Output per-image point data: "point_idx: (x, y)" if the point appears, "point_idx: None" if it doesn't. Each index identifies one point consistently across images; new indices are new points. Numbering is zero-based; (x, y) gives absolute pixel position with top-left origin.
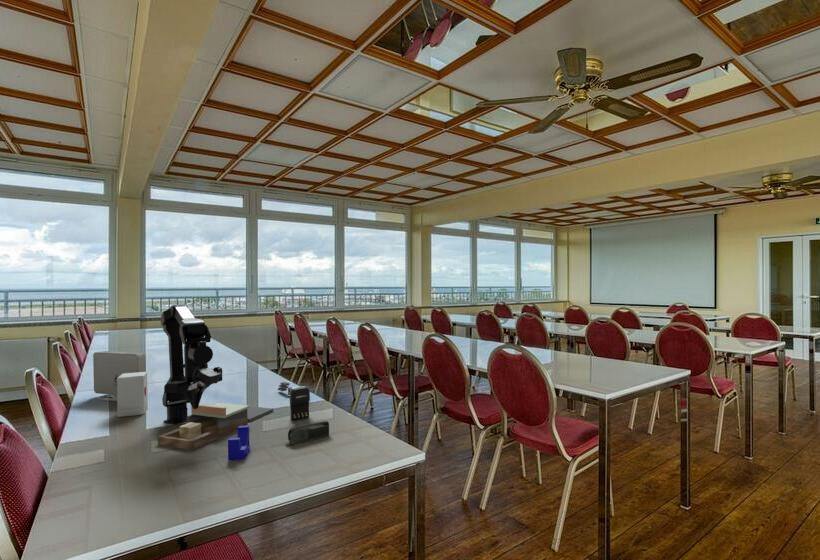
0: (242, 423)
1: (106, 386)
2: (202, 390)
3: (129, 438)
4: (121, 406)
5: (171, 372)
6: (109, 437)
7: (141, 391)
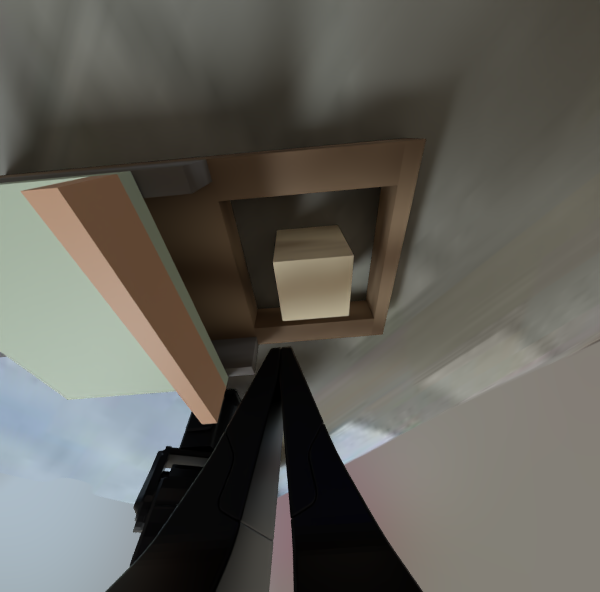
0: (25, 174)
1: None
2: (181, 584)
3: (353, 391)
4: None
5: None
6: (359, 415)
7: None
